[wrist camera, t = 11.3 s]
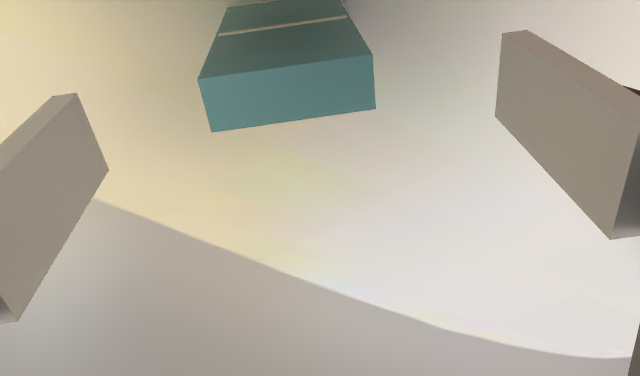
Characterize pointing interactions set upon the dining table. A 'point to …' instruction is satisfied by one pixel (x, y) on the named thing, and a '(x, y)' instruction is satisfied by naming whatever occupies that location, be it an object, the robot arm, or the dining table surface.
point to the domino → (285, 65)
